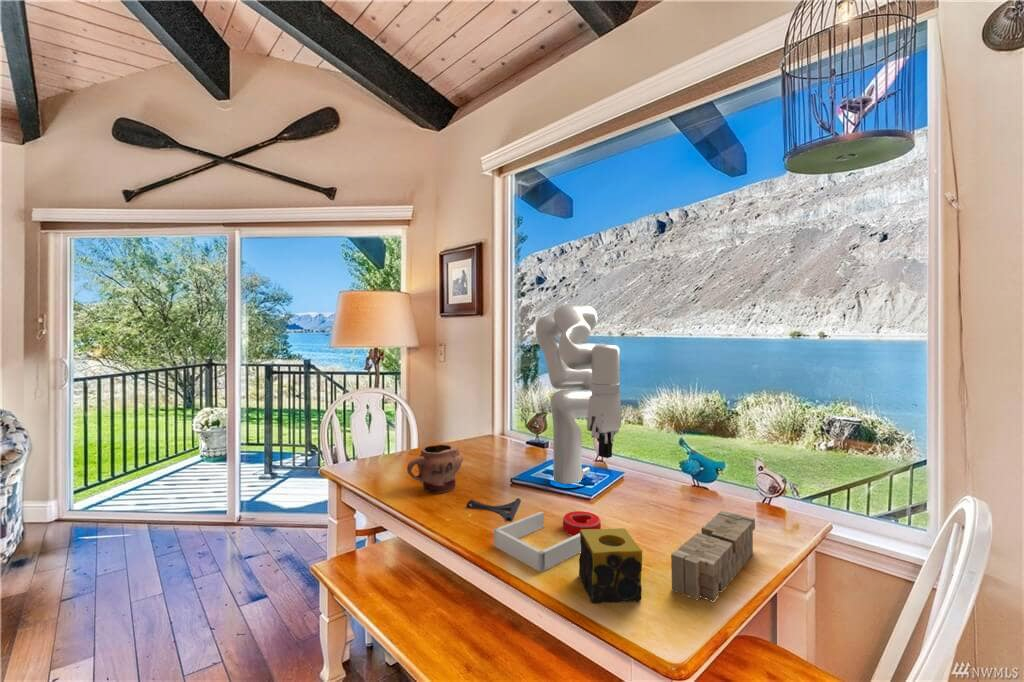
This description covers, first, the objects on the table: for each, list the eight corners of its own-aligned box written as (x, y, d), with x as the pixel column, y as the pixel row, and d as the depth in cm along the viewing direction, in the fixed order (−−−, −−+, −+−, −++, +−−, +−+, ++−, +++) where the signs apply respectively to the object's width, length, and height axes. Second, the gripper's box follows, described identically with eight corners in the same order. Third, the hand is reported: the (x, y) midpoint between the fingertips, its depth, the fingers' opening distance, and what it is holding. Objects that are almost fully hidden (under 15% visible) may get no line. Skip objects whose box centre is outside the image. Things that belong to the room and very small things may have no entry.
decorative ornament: (564, 521, 122) (564, 509, 122) (600, 523, 121) (600, 511, 121) (562, 537, 113) (562, 524, 113) (601, 539, 111) (601, 527, 111)
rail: (540, 526, 118) (540, 511, 118) (589, 548, 106) (589, 531, 106) (493, 546, 108) (493, 529, 107) (541, 572, 96) (541, 554, 95)
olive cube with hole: (578, 575, 94) (578, 528, 94) (624, 573, 95) (625, 526, 95) (590, 605, 84) (590, 552, 84) (642, 602, 85) (643, 550, 85)
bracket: (473, 500, 139) (473, 491, 139) (520, 503, 136) (520, 494, 136) (459, 519, 124) (459, 509, 124) (512, 523, 122) (512, 513, 122)
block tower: (711, 612, 84) (756, 551, 105) (710, 568, 83) (756, 516, 105) (670, 595, 89) (721, 540, 110) (669, 553, 89) (721, 507, 110)
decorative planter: (420, 503, 134) (420, 457, 134) (398, 493, 142) (398, 450, 142) (471, 487, 149) (471, 445, 148) (448, 478, 157) (448, 439, 157)
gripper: (610, 386, 131) (610, 449, 131) (576, 391, 121) (576, 459, 121) (632, 388, 125) (632, 454, 125) (599, 393, 115) (599, 465, 115)
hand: (605, 456), depth 123 cm, fingers closed
